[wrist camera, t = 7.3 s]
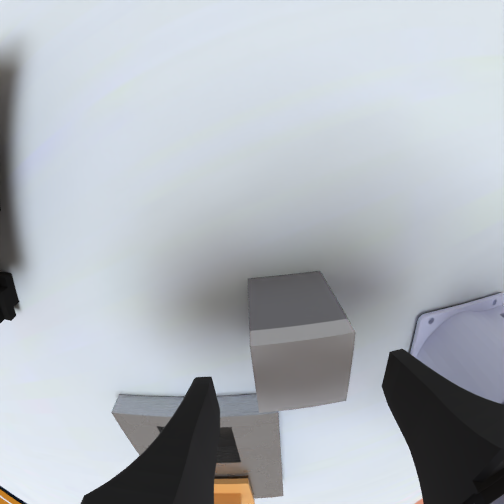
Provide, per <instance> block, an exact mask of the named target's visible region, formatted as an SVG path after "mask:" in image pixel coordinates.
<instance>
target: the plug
mask: <svg viewBox="0 0 504 504" xmlns="http://www.w3.org/2000/svg"><path fill="white" fill-rule="evenodd" d="M248 298H249V329H250V349H251V357H252V364H253V372H254V379H255V387H256V394H257V401H258V408H259V413H264V412H274V411H283V410H292V409H299V408H306V407H313V406H319V405H325V404H330V403H336V402H341V401H346V398H347V392H348V386H349V379H350V372H351V365H352V358H353V350H354V341H355V331H354V329H353V327H352V325H351V323H350V322H349V320H348V318H347V316H346V315H345V313H344V311H343V309H342V308H341V306H340V304H339V302H338V301H337V299H336V297H335V296H334V294H333V292H332V290H331V289H330V287H329V285H328V284H327V282H326V280H325V278H324V277H323V275H322V273H321V272H320V271H316V272H308V273H299V274H290V275H280V276H271V277H261V278H251V279H248Z"/></svg>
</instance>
